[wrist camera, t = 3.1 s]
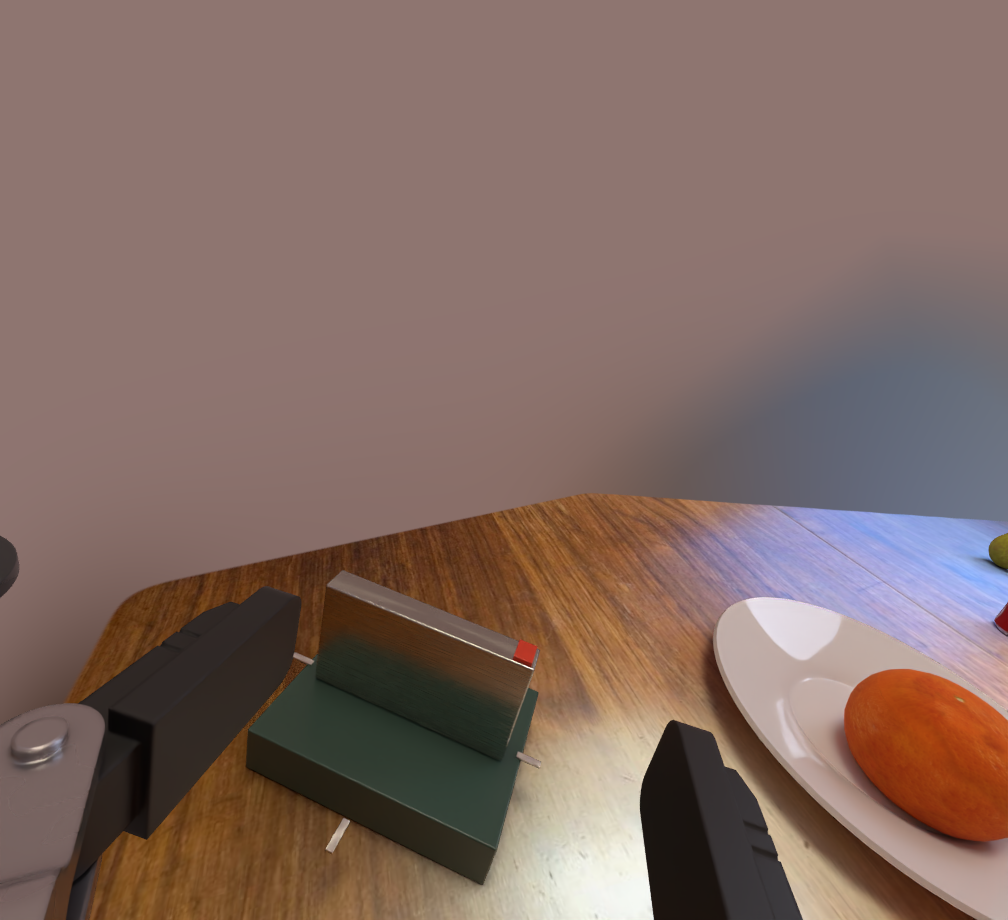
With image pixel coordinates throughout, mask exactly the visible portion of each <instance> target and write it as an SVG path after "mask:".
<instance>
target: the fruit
mask: <svg viewBox="0 0 1008 920" xmlns="http://www.w3.org/2000/svg"><path fill="white" fill-rule="evenodd" d="M989 556H990V558H991V560H992V561H993V562H994V563H995V564H996V565H998V566H999V567H1002V568H1005V569H1008V533H1006V534H1004V535H1001V536H999V537H997V538H995V539H994V540H993V541H992V542H991V543H990V545H989Z"/></svg>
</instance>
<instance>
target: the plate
mask: <svg viewBox="0 0 1008 920" xmlns="http://www.w3.org/2000/svg"><path fill="white" fill-rule="evenodd" d="M713 646H714V653H715V658H716V662H717V665H718V668H719V671H720V674H721V676H722V678H723V680H724V683H725V685H726V687H727V689H728V691H729V693H730V695H731V696H732V698H733V700H734V702H735V704H736V705H737V707H738V708H739V710H740V711H741V713H742V715H743V716H744V718H745V719H746V721H747V722H748V724H749V725H750V726H751V728H752V729H753V730H754V732H755V733H756V734H757V736H758V737H759V738H760V740H761V741H762V742H763V743H764V745H765V746H766V747H767V748H768V750H769V751H770V752H771V753H772V754H773V756H774V757H775V758H776V759H777V760H778V762H779V763H780V764H781V765H782V766H783V767H784V768H785V769H786V770H787V771H788V773H789V774H790V775H791V776H792V777H793V778H794V779H795V780H796V781H797V782H798V783H799V784H800V785H801V786H802V787H803V788H804V789H805V790H806V791H807V792H808V793H809V794H810V795H811V796H812V797H813V798H814V799H815V800H816V801H817V802H818V803H819V804H820V805H821V806H822V807H823V808H824V809H825V810H827V811H828V812H829V813H830V814H831V815H832V816H833V817H834V818H835V819H836V820H837V821H839V822H840V823H841V824H842V825H843V826H844V827H846V828H847V829H848V830H849V831H850V832H851V833H853V834H854V835H855V836H856V837H857V838H859V839H860V840H861V841H862V842H863V843H865V844H866V845H867V846H868V847H870V848H871V849H872V850H873V851H875V852H876V853H877V854H879V855H880V856H881V857H883V858H884V859H885V860H886V861H888V862H889V863H890V864H892V865H893V866H894V867H896V868H897V869H898V870H900V871H901V872H903V873H904V874H906V875H907V876H908V877H910V878H911V879H913V880H914V881H916V882H917V883H918V884H920V885H921V886H923V887H924V888H926V889H927V890H929V891H930V892H932V893H933V894H935V895H937V896H938V897H940V898H941V899H943V900H944V901H946V902H948V903H949V904H951V905H952V906H954V907H956V908H957V909H959V910H961V911H963V912H964V913H966V914H968V915H970V916H971V917H973V918H975V919H977V920H1008V711H1007V710H1006V709H1005V708H1003V707H1002V706H1001V705H999V704H998V703H997V702H995V701H994V700H993V699H991V698H990V697H989V696H987V695H986V694H984V693H983V692H982V691H980V690H979V689H977V688H976V687H974V686H973V685H972V684H970V683H969V682H967V681H966V680H964V679H963V678H961V677H960V676H958V675H957V674H955V673H954V672H952V671H950V670H949V669H947V668H946V667H944V666H942V665H941V664H939V663H938V662H936V661H934V660H933V659H931V658H929V657H928V656H926V655H924V654H922V653H921V652H919V651H917V650H916V649H914V648H912V647H910V646H908V645H906V644H905V643H903V642H901V641H899V640H897V639H895V638H893V637H891V636H889V635H887V634H885V633H883V632H881V631H879V630H877V629H875V628H873V627H871V626H868V625H866V624H864V623H862V622H859V621H857V620H855V619H852V618H850V617H847V616H845V615H842V614H839V613H837V612H834V611H831V610H828V609H825V608H822V607H818V606H815V605H812V604H808V603H803V602H799V601H794V600H789V599H782V598H769V597H762V598H751V599H746V600H743V601H740V602H737V603H735V604H733V605H732V606H731V607H729V608H728V609H726V610H725V611H724V612H723V613H722V614H721V615H720V617H719V618H718V620H717V622H716V625H715V628H714V634H713Z"/></svg>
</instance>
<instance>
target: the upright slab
mask: <svg viewBox="0 0 1008 920" xmlns="http://www.w3.org/2000/svg"><path fill="white" fill-rule="evenodd" d="M539 652H540V650H539V649H537V646H535V645H533V644H530V643H528V642H525V641H523V640H519V641H517V640H514V639H512V638H509V637H507V636H505V635H502V634H500V633H497V632H495V631H492V630H490V629H487V628H485V627H482V626H480V625H477V624H475V623H472V622H470V621H467V620H465V619H462V618H460V617H457V616H455V615H453V614H450V613H448V612H445V611H443V610H440V609H438V608H435V607H433V606H430V605H428V604H425V603H423V602H420V601H418V600H415V599H413V598H410V597H408V596H406V595H403V594H401V593H398V592H396V591H393V590H391V589H388V588H386V587H383V586H381V585H378V584H376V583H373V582H371V581H368V580H366V579H363V578H361V577H358V576H356V575H354V574H351V573H349V572H346V571H341V572H340V573H339V574H338V575H337V576H336V577H335V578H334V579H332V580H331V581H330V582H329V583H328V584H327V586H326V593H325V601H324V609H323V618H322V626H321V634H320V642H319V650H318V658H317V666H316V675H315V677H316V678H318V679H320V680H322V681H324V682H326V683H329V684H331V685H333V686H335V687H337V688H340V689H342V690H344V691H346V692H349V693H351V694H353V695H355V696H357V697H360V698H362V699H364V700H366V701H368V702H371V703H373V704H375V705H377V706H380V707H382V708H384V709H386V710H388V711H391V712H393V713H395V714H397V715H400V716H402V717H404V718H406V719H408V720H411V721H413V722H415V723H417V724H419V725H422V726H424V727H426V728H428V729H431V730H433V731H435V732H437V733H439V734H442V735H444V736H446V737H448V738H451V739H453V740H455V741H457V742H459V743H462V744H464V745H466V746H468V747H470V748H473V749H475V750H477V751H479V752H482V753H484V754H486V755H488V756H490V757H493V758H495V759H497V760H499V761H502V759H503V756H504V754H505V751H506V748H507V745H508V742H509V740H510V737H511V734H512V731H513V728H514V726H515V723H516V720H517V717H518V714H519V712H520V709H521V706H522V703H523V700H524V698H525V695H526V692H527V689H528V686H529V684H530V681H531V678H532V675H533V672H534V669H535V666H536V663H537V659H538V656H539Z"/></svg>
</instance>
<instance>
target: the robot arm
mask: <svg viewBox="0 0 1008 920" xmlns="http://www.w3.org/2000/svg"><path fill="white" fill-rule="evenodd" d="M300 610H301V599H300V597H299V596H295V595H292V594H289V593H286V592H283V591H280V590H277V589H274V588H271V587H268V586H265V587H262V588H261V589H259V590H258V591H257V592H255V593H254V594H253V595H251V596H250V597H249V598H248V599H246V600H245V601H244V602H243V603H241V604H240V605H239V604H236V603H233V602H229V603H226V604H223V605H221V606H218V607H216V608H213V609H210V610H208V611H205V612H203V613H202V614H200V615H199V616H197V617H196V618H195V619H193V620H192V621H191V622H189V623H188V624H186V625H185V626H184V627H182V628H181V630H180V632H176V633H174V634H173V635H171V636H170V637H169V638H167V639H166V640H165V641H163V642H162V644H161V646H156V647H155V648H154V649H152V650H151V651H150V652H148V653H147V654H145V655H144V656H143V657H141V658H140V659H139V660H137V661H136V662H135V663H133V664H132V665H130V666H129V667H128V668H126V669H125V670H124V671H122V672H121V673H120V674H118V675H117V676H115V677H114V678H113V679H111V680H110V681H109V682H107V683H106V684H104V685H103V686H102V687H100V688H99V689H98V690H96V691H95V692H94V693H92V694H91V695H89V696H88V697H87V698H85V699H84V700H83V701H81V702H80V703H78V704H69V703H65V704H55V705H50V706H44V707H41V708H37V709H34V710H31V711H28V712H26V713H23V714H20V715H18V716H16V717H14V718H12V719H10V720H8V721H6V722H5V723H3V724H1V725H0V920H89V919H90V914H91V909H92V905H93V900H94V895H95V891H96V886H97V881H98V876H99V872H100V867H101V862H102V853H103V852H104V851H105V850H106V849H107V848H108V847H109V846H110V844H111V843H112V842H113V841H114V840H115V839H116V838H117V837H118V836H119V835H120V834H121V833H122V831H125V832H128V833H130V834H133V835H136V836H138V837H141V838H144V839H146V840H147V839H148V838H149V836H150V835H151V834H152V833H153V832H154V831H155V829H156V828H157V827H158V826H159V825H160V824H161V823H162V821H163V820H164V819H165V818H166V817H167V816H168V814H169V813H170V812H171V811H172V810H173V809H174V807H175V806H176V805H177V804H178V803H179V802H180V800H181V799H182V798H183V797H184V796H185V795H186V793H187V792H188V791H189V790H190V789H191V788H192V786H193V785H194V784H195V783H196V782H197V781H198V780H199V778H200V777H201V776H202V775H203V774H204V773H205V771H206V770H207V769H208V768H209V767H210V766H211V764H212V763H213V762H214V761H215V760H216V759H217V757H218V756H219V755H220V754H221V753H222V752H223V750H224V749H225V748H226V747H227V746H228V745H229V744H230V742H231V741H232V740H233V739H234V738H235V737H236V735H237V734H238V733H239V732H240V731H241V730H242V728H243V727H244V726H245V725H246V724H247V723H248V721H249V720H250V719H251V718H252V717H253V716H254V714H255V713H256V712H257V711H258V710H259V709H260V707H261V706H262V705H263V704H264V703H265V702H266V701H267V699H268V698H269V697H270V696H271V695H272V694H273V692H274V691H275V690H276V689H277V688H278V686H279V685H280V684H281V682H282V681H283V679H284V678H285V676H286V674H287V672H288V670H289V668H290V665H291V662H292V659H293V655H294V649H295V643H296V636H297V630H298V623H299V617H300ZM640 814H641V822H642V830H643V838H644V845H645V853H646V861H647V869H648V877H649V884H650V892H651V900H652V908H653V915H654V920H803V919H802V916H801V914H800V911H799V908H798V906H797V903H796V901H795V898H794V895H793V893H792V890H791V888H790V885H789V882H788V880H787V877H786V875H785V872H784V869H783V867H782V864H781V862H780V861H778V858H777V857H778V854H777V851H776V849H775V846H774V843H773V841H772V838H771V836H770V835H768V828H767V825H766V822H765V820H764V817H763V815H762V812H761V809H760V807H759V804H758V802H757V799H756V798H755V796H754V795H753V793H752V792H751V791H750V789H749V788H748V786H747V785H746V784H745V782H744V781H743V779H742V778H741V777H740V775H739V774H738V772H737V771H736V770H734V769H731V768H728V767H725V766H724V764H723V761H722V758H721V755H720V752H719V749H718V746H717V743H716V740H715V738H714V736H713V734H712V733H711V732H709V731H706V730H702V729H699V728H696V727H693V726H690V725H687V724H684V723H681V722H678V721H675V720H671V721H670V722H669V723H668V724H667V726H666V728H665V730H664V733H663V735H662V737H661V739H660V742H659V744H658V746H657V748H656V751H655V753H654V755H653V757H652V760H651V762H650V764H649V767H648V769H647V771H646V773H645V776H644V779H643V783H642V788H641V795H640Z"/></svg>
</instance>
